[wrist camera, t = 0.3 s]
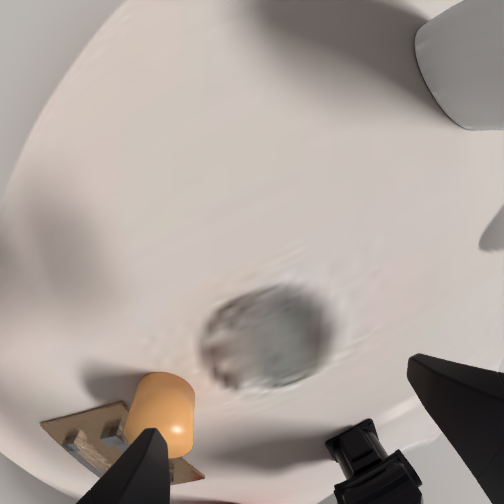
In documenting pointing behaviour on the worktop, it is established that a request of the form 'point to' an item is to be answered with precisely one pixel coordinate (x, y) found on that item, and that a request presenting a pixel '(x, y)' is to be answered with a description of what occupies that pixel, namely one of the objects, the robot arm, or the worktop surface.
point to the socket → (105, 441)
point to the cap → (163, 411)
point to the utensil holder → (466, 62)
